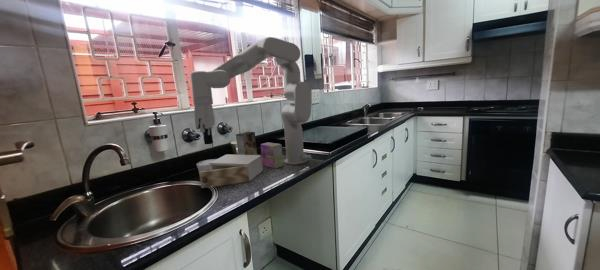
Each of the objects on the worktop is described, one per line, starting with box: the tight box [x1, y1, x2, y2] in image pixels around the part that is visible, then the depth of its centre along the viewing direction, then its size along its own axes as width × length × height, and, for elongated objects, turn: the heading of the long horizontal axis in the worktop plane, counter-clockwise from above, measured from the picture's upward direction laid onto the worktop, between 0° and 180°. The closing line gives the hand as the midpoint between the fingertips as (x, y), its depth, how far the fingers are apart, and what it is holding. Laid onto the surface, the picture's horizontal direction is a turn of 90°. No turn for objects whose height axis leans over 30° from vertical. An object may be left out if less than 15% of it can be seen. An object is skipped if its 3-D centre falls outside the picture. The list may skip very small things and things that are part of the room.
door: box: [198, 166, 250, 189], centre depth 110 cm, size 20×3×7 cm, turn 103°
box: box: [260, 141, 284, 169], centre depth 133 cm, size 10×6×12 cm, turn 47°
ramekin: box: [196, 158, 217, 173], centre depth 131 cm, size 11×11×5 cm
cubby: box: [210, 153, 264, 182], centre depth 123 cm, size 20×14×8 cm
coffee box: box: [235, 131, 258, 155], centre depth 146 cm, size 9×6×16 cm
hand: (208, 143), depth 110 cm, fingers closed
